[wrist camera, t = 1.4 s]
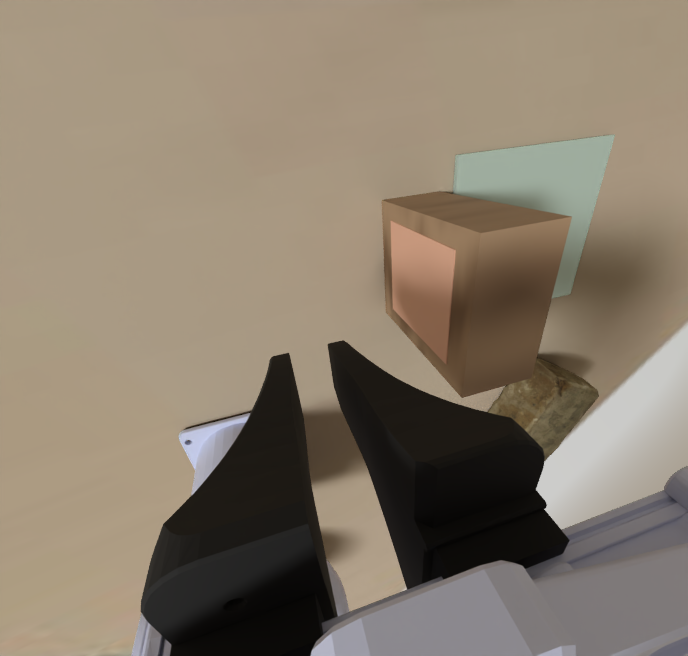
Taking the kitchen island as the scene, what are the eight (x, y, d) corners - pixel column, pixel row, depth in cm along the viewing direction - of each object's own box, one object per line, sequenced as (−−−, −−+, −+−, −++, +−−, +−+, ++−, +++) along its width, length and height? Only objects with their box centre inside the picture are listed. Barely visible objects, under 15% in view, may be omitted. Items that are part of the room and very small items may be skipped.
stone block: (562, 361, 33) (609, 392, 28) (500, 442, 37) (533, 480, 33) (524, 350, 30) (569, 382, 26) (463, 438, 35) (493, 478, 30)
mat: (567, 293, 28) (570, 294, 28) (444, 321, 26) (446, 323, 26) (610, 134, 22) (615, 134, 22) (455, 155, 20) (458, 154, 20)
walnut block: (433, 301, 25) (531, 378, 16) (385, 312, 24) (460, 398, 16) (439, 191, 21) (571, 216, 12) (381, 200, 20) (479, 233, 12)
